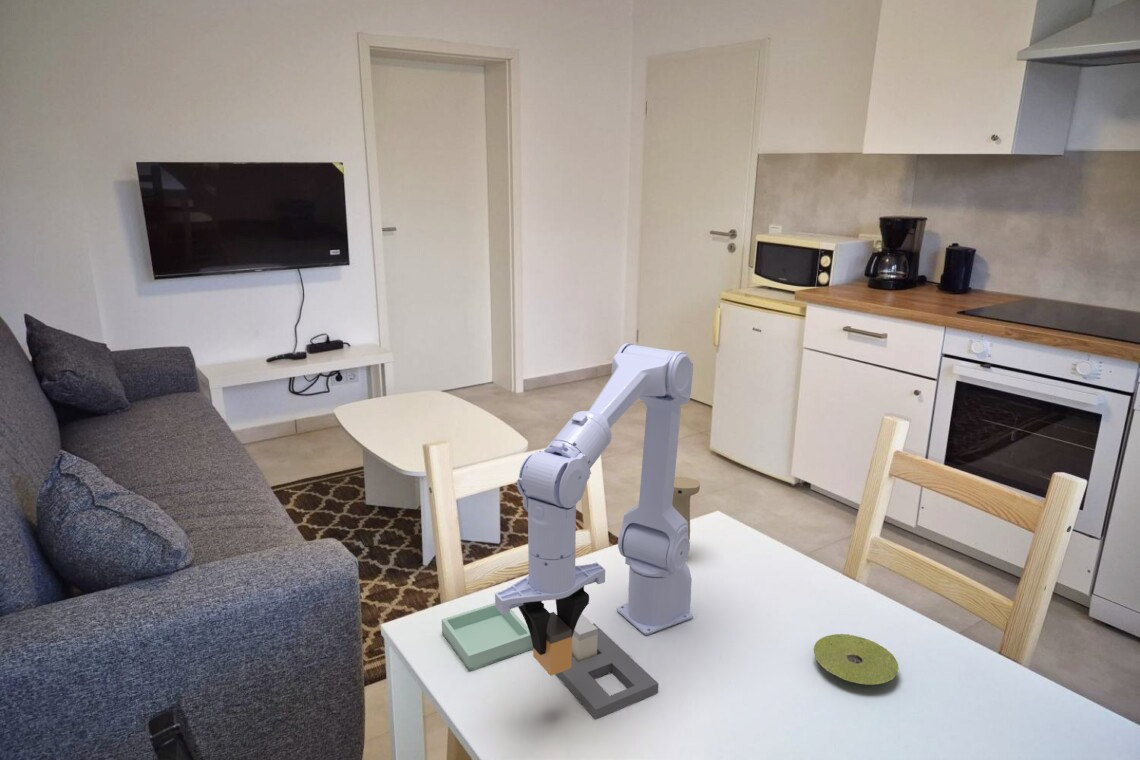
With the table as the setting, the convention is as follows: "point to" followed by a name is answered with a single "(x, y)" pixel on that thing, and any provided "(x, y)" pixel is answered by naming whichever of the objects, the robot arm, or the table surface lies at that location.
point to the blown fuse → (556, 647)
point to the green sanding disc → (855, 659)
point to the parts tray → (486, 636)
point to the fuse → (584, 640)
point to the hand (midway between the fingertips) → (551, 645)
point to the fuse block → (603, 663)
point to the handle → (684, 496)
